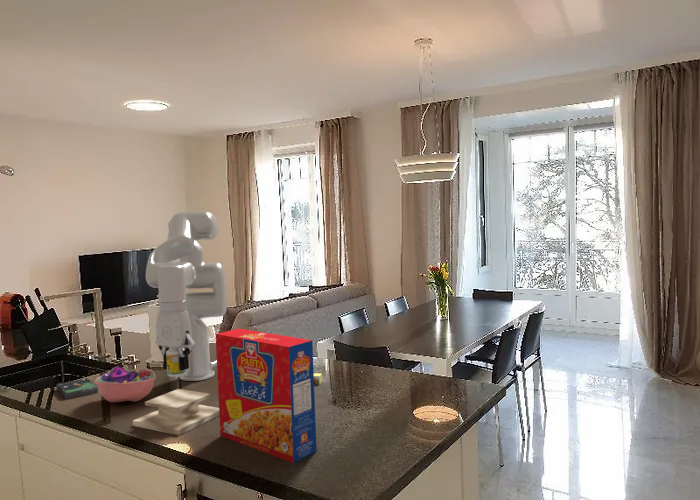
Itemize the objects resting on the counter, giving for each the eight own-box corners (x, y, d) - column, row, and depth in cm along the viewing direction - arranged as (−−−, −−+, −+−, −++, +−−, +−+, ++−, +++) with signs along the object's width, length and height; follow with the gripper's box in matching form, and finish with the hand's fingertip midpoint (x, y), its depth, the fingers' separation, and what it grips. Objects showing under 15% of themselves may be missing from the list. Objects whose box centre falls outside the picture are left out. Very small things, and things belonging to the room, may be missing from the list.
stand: (179, 405, 174) (178, 385, 174) (223, 413, 166) (222, 392, 166) (132, 425, 159) (131, 403, 158) (179, 435, 150) (177, 412, 150)
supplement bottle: (187, 375, 160) (185, 342, 159) (167, 378, 158) (166, 345, 157) (185, 371, 165) (183, 339, 164) (166, 373, 163) (164, 341, 162)
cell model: (133, 412, 170) (131, 376, 169) (83, 406, 177) (81, 372, 176) (169, 395, 186) (167, 362, 185) (122, 390, 193) (120, 358, 192)
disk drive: (56, 391, 196) (65, 400, 185) (55, 383, 196) (65, 392, 184) (87, 385, 203) (98, 393, 191) (86, 377, 202) (98, 385, 191)
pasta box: (220, 436, 149) (215, 333, 147) (243, 426, 155) (239, 328, 153) (293, 463, 131) (288, 347, 129) (316, 451, 137) (312, 340, 135)
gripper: (142, 307, 161) (145, 369, 162) (185, 310, 153) (188, 375, 154) (161, 303, 168) (165, 362, 169) (204, 306, 160) (207, 368, 161)
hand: (176, 367), depth 161 cm, fingers closed on supplement bottle, 5 cm apart
